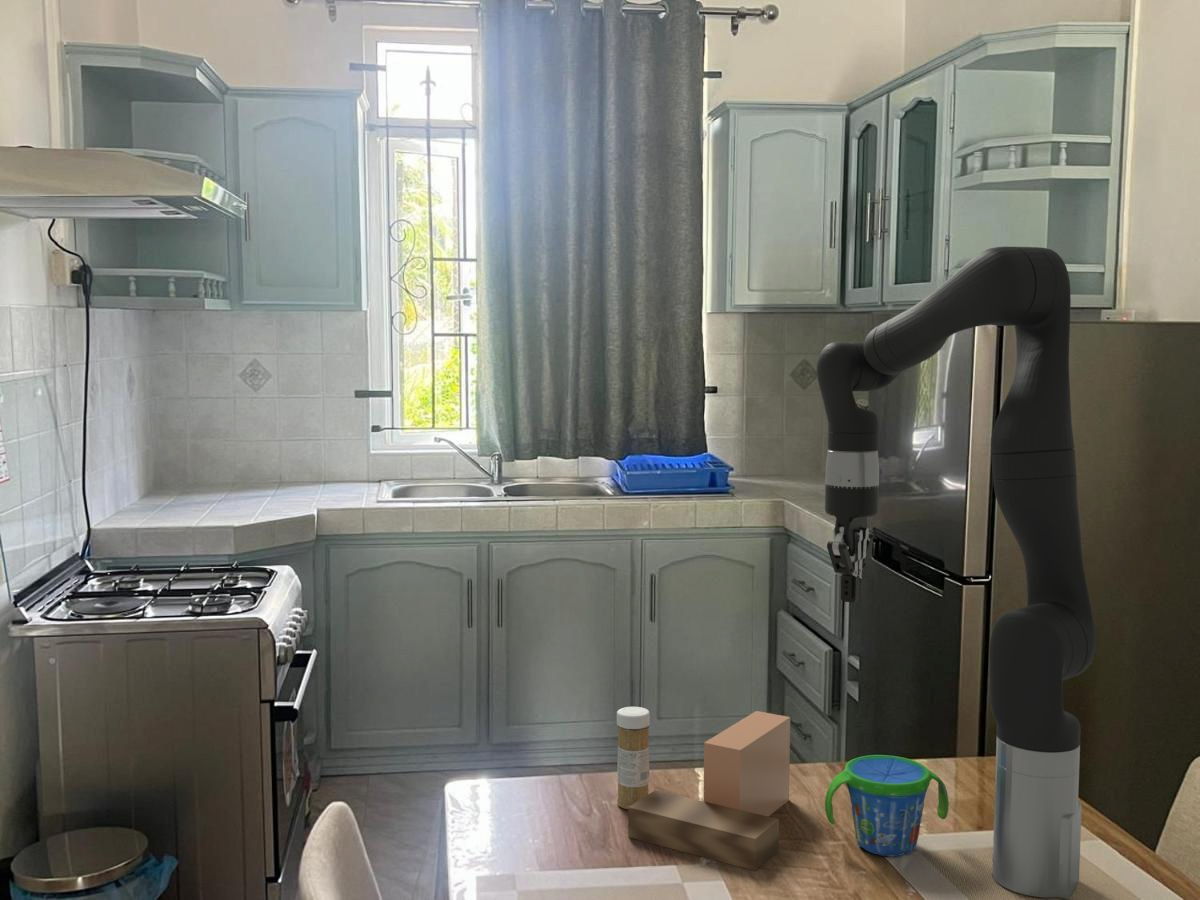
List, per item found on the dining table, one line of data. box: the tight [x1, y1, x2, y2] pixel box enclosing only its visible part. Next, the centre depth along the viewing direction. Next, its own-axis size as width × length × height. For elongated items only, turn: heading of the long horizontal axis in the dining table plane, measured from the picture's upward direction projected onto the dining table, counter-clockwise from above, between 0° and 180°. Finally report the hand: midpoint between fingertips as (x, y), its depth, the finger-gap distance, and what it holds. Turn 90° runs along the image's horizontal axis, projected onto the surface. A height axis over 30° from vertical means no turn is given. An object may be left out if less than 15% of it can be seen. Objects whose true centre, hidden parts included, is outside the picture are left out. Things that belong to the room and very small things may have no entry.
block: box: [703, 710, 791, 817], centre depth 155 cm, size 5×16×12 cm, turn 147°
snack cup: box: [824, 754, 950, 857], centre depth 146 cm, size 16×10×10 cm
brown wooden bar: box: [627, 789, 780, 872], centre depth 146 cm, size 18×7×4 cm, turn 57°
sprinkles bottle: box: [616, 706, 651, 810], centre depth 159 cm, size 5×5×13 cm
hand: (849, 600), depth 165 cm, fingers closed
